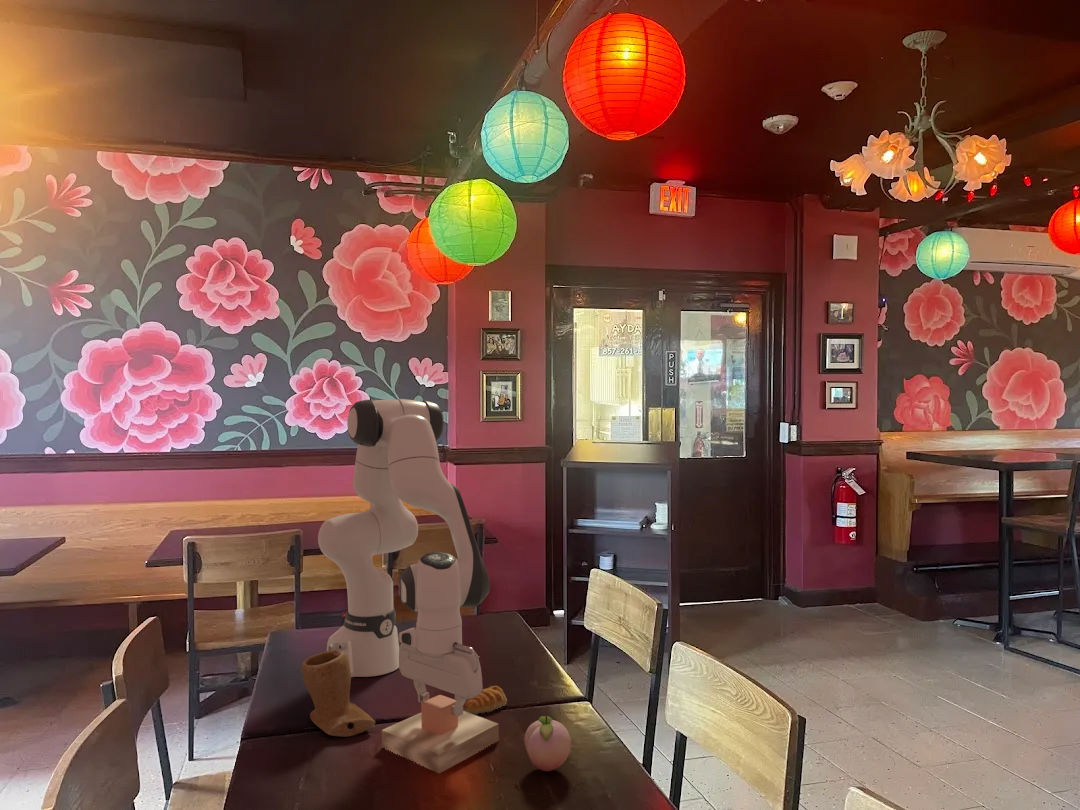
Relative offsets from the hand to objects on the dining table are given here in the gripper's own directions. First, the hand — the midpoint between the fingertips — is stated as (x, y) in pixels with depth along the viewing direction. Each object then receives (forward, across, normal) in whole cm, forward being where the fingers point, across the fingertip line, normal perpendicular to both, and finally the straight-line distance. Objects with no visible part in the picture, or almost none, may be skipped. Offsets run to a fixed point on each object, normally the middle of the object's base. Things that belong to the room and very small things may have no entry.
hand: (440, 708), depth 150 cm
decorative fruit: (+7, -23, -5) cm, 25 cm away
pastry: (+8, +5, -18) cm, 20 cm away
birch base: (+8, 0, 0) cm, 8 cm away
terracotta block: (+4, 0, 0) cm, 4 cm away
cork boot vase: (+7, +23, +8) cm, 25 cm away
